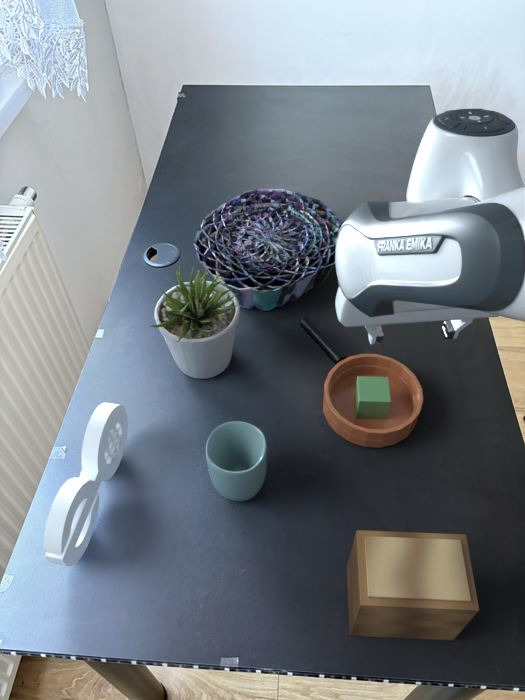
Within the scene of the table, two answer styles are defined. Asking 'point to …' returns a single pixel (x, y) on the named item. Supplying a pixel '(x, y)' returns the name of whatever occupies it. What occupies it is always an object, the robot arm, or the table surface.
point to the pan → (342, 401)
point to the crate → (410, 585)
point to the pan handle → (322, 340)
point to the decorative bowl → (268, 246)
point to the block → (372, 397)
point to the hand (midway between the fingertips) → (411, 337)
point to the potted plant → (199, 325)
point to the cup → (237, 460)
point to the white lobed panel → (86, 486)
